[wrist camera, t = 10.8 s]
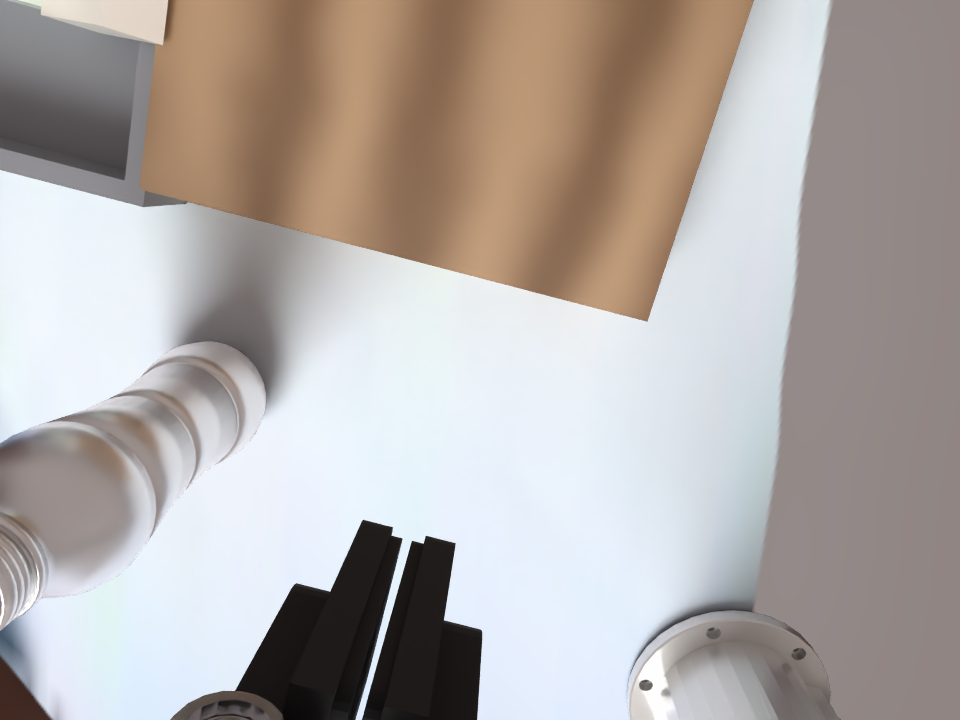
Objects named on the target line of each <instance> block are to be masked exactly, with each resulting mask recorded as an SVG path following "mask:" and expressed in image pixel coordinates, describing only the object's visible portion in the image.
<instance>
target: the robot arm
mask: <svg viewBox="0 0 960 720" xmlns="http://www.w3.org/2000/svg"><path fill="white" fill-rule="evenodd" d="M392 530H393V527H389V526H385V525H381V524H377V523H373V522H370V521H366V520H363V521H362V523H361V525H360V527H359V529H358V531H357V534H356V536H355V538H354V540H353V543H352V545H351V547H350V549H349V551H348V554H347V556H346V558H345V560H344V563H343V565H342V567H341V569H340V571H339V574H338V576H337V578H336V580H335V583H334V585H333V587H332V589H331V592H329V591H325V590H321V589H317V588H313V587H309V586H305V585H301V584H297V583H296V584H295V585H294V586H293V587H292V589H291V590H290V592H289V594H288V596H287V598H286V600H285V601H284V603H283V605H282V607H281V609H280V610H279V612H278V614H277V616H276V618H275V620H274V621H273V623H272V625H271V627H270V629H269V630H268V632H267V634H266V636H265V638H264V640H263V641H262V643H261V645H260V647H259V649H258V650H257V652H256V654H255V656H254V658H253V659H252V661H251V663H250V665H249V667H248V669H247V670H246V672H245V674H244V676H243V678H242V679H241V681H240V683H239V685H238V687H237V689H236V690H235V691H221V692H217V693H212V694H208V695H204V696H202V697H200V698H198V699H196V700H194V701H192V702H190V703H188V704H187V705H186V706H184V707H183V708H182V709H181V710H180V711H179V712H178V713H176V714H175V715H174V716H173V717H172V718H171V720H355V719H356V715H357V712H358V708H359V705H360V702H361V698H362V695H363V691H364V688H365V684H366V681H367V677H368V674H369V670H370V666H371V662H372V658H373V654H374V650H375V646H376V642H377V638H378V634H379V630H380V626H381V622H382V618H383V614H384V610H385V606H386V603H387V599H388V595H389V591H390V587H391V583H392V579H393V575H394V571H395V567H396V563H397V559H398V555H399V551H400V547H401V543H402V538H398V537H394V536H391V535H392ZM454 551H455V543H452V542H448V541H444V540H440V539H436V538H433V537H429V536H426V537H425V541H424V544H422V543H418V542H414V541H412V543H411V546H410V550H409V553H408V557H407V561H406V564H405V568H404V571H403V575H402V578H401V582H400V585H399V589H398V593H397V596H396V600H395V603H394V607H393V610H392V614H391V617H390V621H389V625H388V628H387V632H386V635H385V639H384V642H383V646H382V649H381V653H380V657H379V660H378V664H377V667H376V671H375V674H374V678H373V682H372V685H371V689H370V692H369V696H368V700H367V703H366V707H365V711H364V715H363V719H362V720H477V712H478V696H479V680H480V664H481V648H482V631H481V630H480V629H476V628H472V627H468V626H464V625H460V624H456V623H452V622H448V621H444V615H445V609H446V602H447V596H448V589H449V583H450V577H451V570H452V564H453V557H454ZM627 708H628V712H629V716H630V720H840V718H839V717H837V715H836V713H835V712H834V710H833V708H832V707H831V705H830V686H829V680H828V676H827V673H826V671H825V669H824V666H823V664H822V662H821V660H820V659H819V657H818V656H817V654H816V653H815V651H814V650H813V648H812V647H811V645H810V644H809V643H808V642H807V641H806V640H805V639H804V638H803V637H802V636H801V635H800V634H799V633H798V632H797V631H795V630H794V629H792V628H791V627H789V626H788V625H787V624H785V623H783V622H780V621H778V620H776V619H774V618H772V617H769V616H766V615H761V614H757V613H754V612H748V611H734V610H729V611H718V612H710V613H706V614H702V615H698V616H694V617H691V618H689V619H687V620H684V621H682V622H680V623H677V624H675V625H674V626H672V627H671V628H669V629H667V630H666V631H664V632H663V633H661V634H660V635H659V636H658V637H657V638H655V639H654V640H653V641H652V642H651V643H650V644H649V645H648V646H647V647H646V648H645V650H644V651H643V653H642V654H641V655H640V657H639V658H638V660H637V661H636V663H635V665H634V668H633V670H632V672H631V674H630V678H629V683H628V688H627Z"/></svg>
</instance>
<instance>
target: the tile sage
mask: <svg viewBox="0 0 960 720" xmlns="http://www.w3.org/2000/svg"><path fill="white" fill-rule="evenodd" d="M8 1H12V2H15V3H19V4H22V5H26V6H30V7H33V8H37V9H40V10H41V4H42V0H8Z"/></svg>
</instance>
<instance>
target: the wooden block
mask: <svg viewBox="0 0 960 720" xmlns="http://www.w3.org/2000/svg"><path fill="white" fill-rule="evenodd" d="M753 1H754V0H168V7H167V15H166V23H165V32H164V40H163V45H159V44H156V45H155V54H154V63H153V71H152V80H151V89H150V98H149V107H148V116H147V124H146V133H145V142H144V151H143V160H142V169H141V177H140V186H139V189H141V190H144V191H148V192H152V193H156V194H160V195H164V196H167V197H171V198H175V199H179V200H183V201H187V202H190V203H194V204H198V205H202V206H206V207H210V208H213V209H217V210H221V211H225V212H229V213H233V214H237V215H240V216H244V217H248V218H252V219H256V220H260V221H263V222H267V223H271V224H275V225H279V226H283V227H286V228H290V229H294V230H298V231H302V232H306V233H309V234H313V235H317V236H321V237H325V238H329V239H332V240H336V241H340V242H344V243H348V244H352V245H355V246H359V247H363V248H367V249H371V250H375V251H379V252H382V253H386V254H390V255H394V256H398V257H402V258H405V259H409V260H413V261H417V262H421V263H425V264H428V265H432V266H436V267H440V268H444V269H448V270H451V271H455V272H459V273H463V274H467V275H471V276H474V277H478V278H482V279H486V280H490V281H494V282H497V283H501V284H505V285H509V286H513V287H517V288H521V289H524V290H528V291H532V292H536V293H540V294H544V295H547V296H551V297H555V298H559V299H563V300H567V301H570V302H574V303H578V304H582V305H586V306H590V307H593V308H597V309H601V310H605V311H609V312H613V313H616V314H620V315H624V316H628V317H632V318H636V319H639V320H643V321H648V318H649V315H650V312H651V309H652V306H653V303H654V300H655V297H656V294H657V291H658V288H659V285H660V282H661V279H662V275H663V272H664V269H665V266H666V263H667V260H668V257H669V254H670V251H671V248H672V245H673V242H674V239H675V236H676V233H677V230H678V227H679V224H680V221H681V218H682V215H683V212H684V209H685V206H686V203H687V200H688V197H689V194H690V191H691V188H692V185H693V182H694V179H695V176H696V173H697V170H698V167H699V164H700V161H701V158H702V155H703V152H704V149H705V146H706V143H707V140H708V137H709V134H710V131H711V128H712V125H713V122H714V119H715V116H716V113H717V110H718V107H719V104H720V101H721V98H722V95H723V91H724V88H725V85H726V82H727V79H728V76H729V73H730V70H731V67H732V64H733V61H734V58H735V55H736V52H737V49H738V46H739V43H740V40H741V37H742V34H743V31H744V28H745V25H746V22H747V19H748V16H749V13H750V10H751V7H752V4H753Z"/></svg>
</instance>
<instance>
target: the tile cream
mask: <svg viewBox="0 0 960 720" xmlns="http://www.w3.org/2000/svg"><path fill="white" fill-rule="evenodd" d="M167 7H168V0H42V4H41V15H43V16H46V17H49V18H52V19H56V20H59V21H62V22H65V23H69V24H72V25H75V26H78V27H82V28H85V29H88V30H91V31H95V32H98V33H102V34H107V35H112V36H117V37H123V38H128V39H133V40H138V41H143V42H149V43H154V44H159V45H163V40H164V32H165V23H166V15H167Z"/></svg>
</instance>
